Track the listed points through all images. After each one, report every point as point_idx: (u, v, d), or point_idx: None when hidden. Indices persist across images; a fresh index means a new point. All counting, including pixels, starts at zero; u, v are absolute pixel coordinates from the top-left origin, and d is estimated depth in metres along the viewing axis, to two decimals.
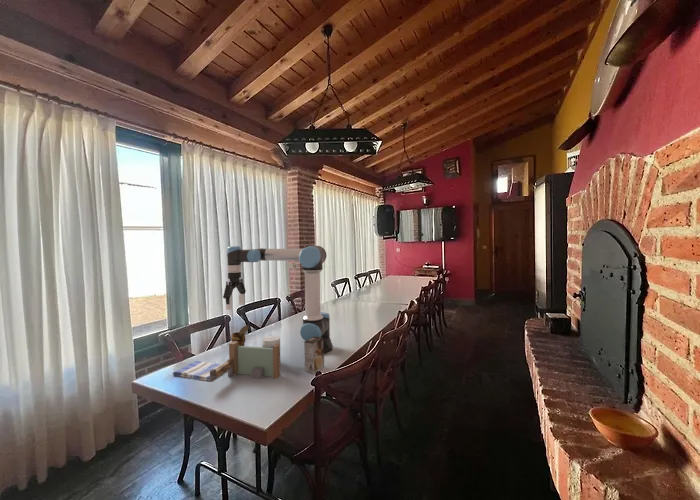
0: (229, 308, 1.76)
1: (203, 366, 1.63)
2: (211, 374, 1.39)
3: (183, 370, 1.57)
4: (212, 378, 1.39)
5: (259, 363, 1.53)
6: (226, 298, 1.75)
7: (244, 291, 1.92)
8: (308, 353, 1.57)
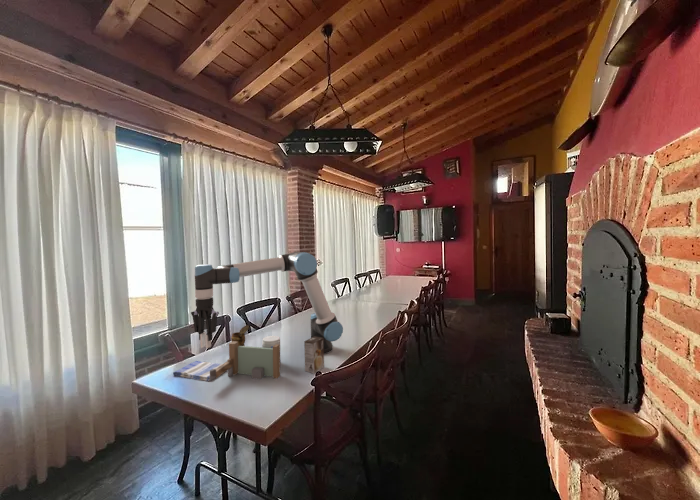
0: None
1: (203, 366, 1.63)
2: (211, 374, 1.39)
3: (183, 370, 1.57)
4: (212, 378, 1.39)
5: (259, 363, 1.53)
6: None
7: (210, 331, 1.41)
8: (308, 353, 1.57)
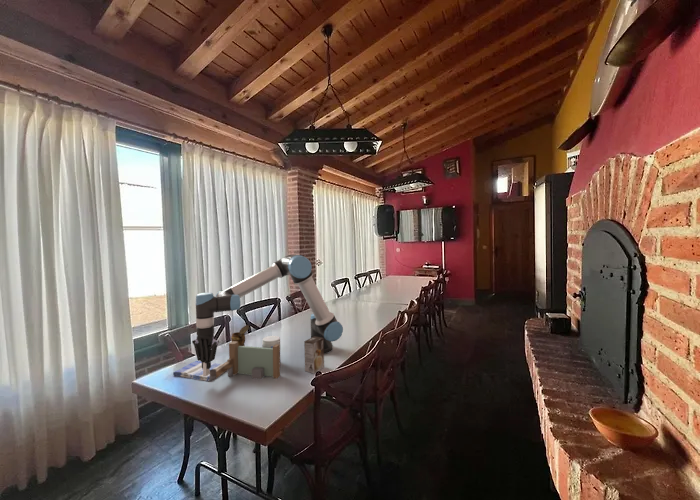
0: None
1: None
2: (211, 374, 1.39)
3: (183, 370, 1.57)
4: (212, 378, 1.39)
5: (259, 363, 1.53)
6: None
7: (209, 359, 1.42)
8: (308, 353, 1.57)
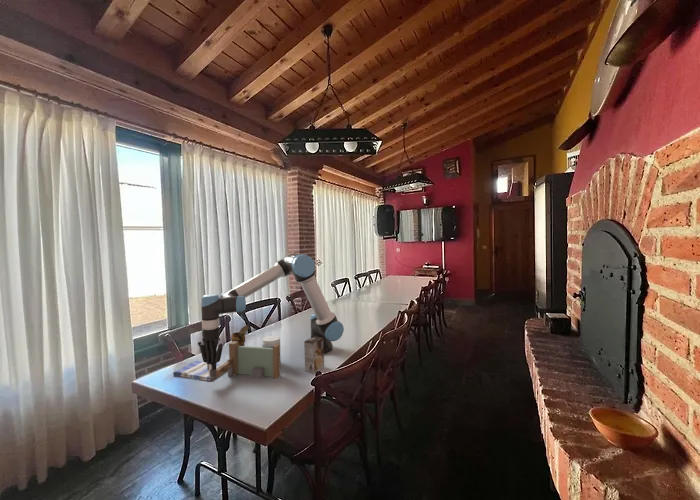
0: None
1: (203, 366, 1.63)
2: (211, 374, 1.39)
3: (183, 370, 1.57)
4: (212, 378, 1.39)
5: (259, 363, 1.53)
6: None
7: (214, 361, 1.42)
8: (308, 353, 1.57)
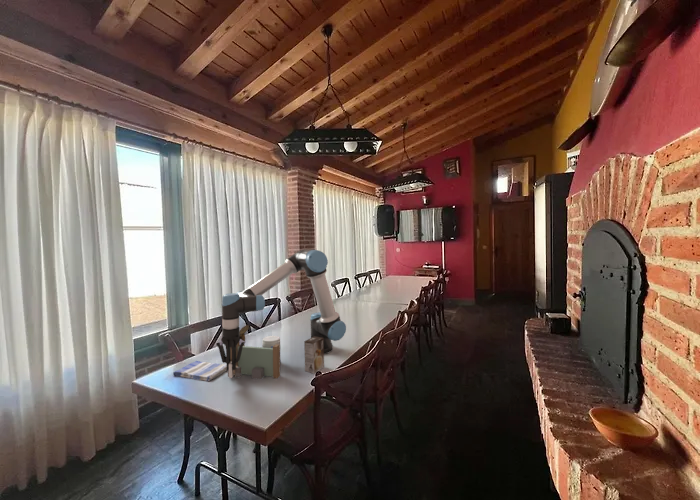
0: None
1: (203, 366, 1.63)
2: (239, 371, 1.41)
3: (183, 370, 1.57)
4: (240, 375, 1.42)
5: (259, 363, 1.53)
6: None
7: (235, 360, 1.42)
8: (308, 353, 1.57)
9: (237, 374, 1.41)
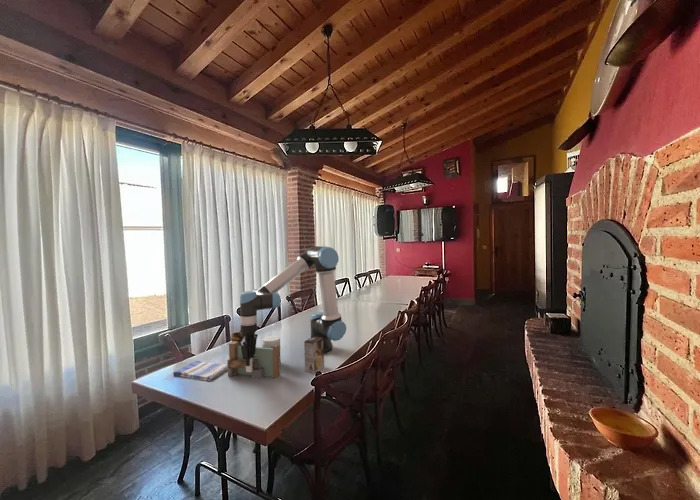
0: (249, 370, 1.47)
1: (203, 366, 1.63)
2: (257, 362, 1.51)
3: (183, 370, 1.57)
4: (257, 366, 1.51)
5: (259, 363, 1.53)
6: None
7: (253, 353, 1.50)
8: (308, 353, 1.57)
9: (256, 366, 1.50)
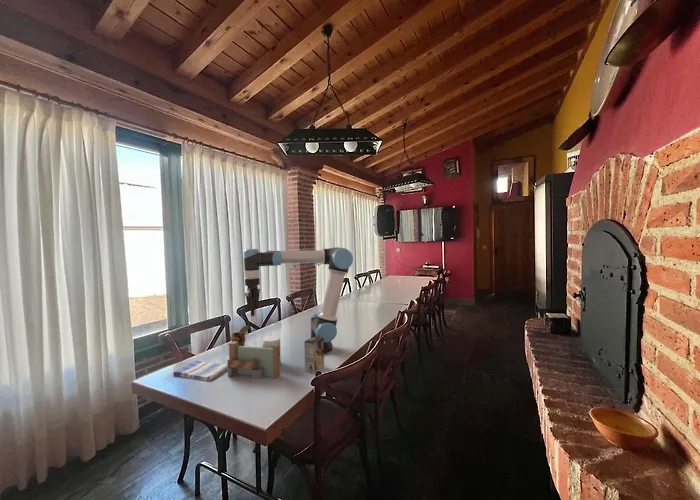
0: (254, 320, 1.62)
1: (203, 366, 1.63)
2: (257, 362, 1.51)
3: (183, 370, 1.57)
4: (257, 366, 1.51)
5: (259, 363, 1.53)
6: (251, 309, 1.61)
7: (257, 305, 1.65)
8: (308, 353, 1.57)
9: (256, 366, 1.50)
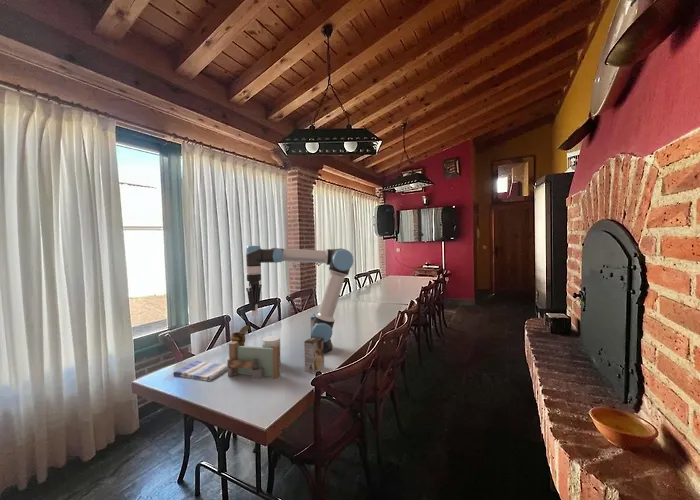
0: (255, 315, 1.67)
1: (203, 366, 1.63)
2: (257, 362, 1.51)
3: (183, 370, 1.57)
4: (257, 366, 1.51)
5: (259, 363, 1.53)
6: (252, 304, 1.66)
7: (258, 300, 1.70)
8: (308, 353, 1.57)
9: (256, 366, 1.50)
